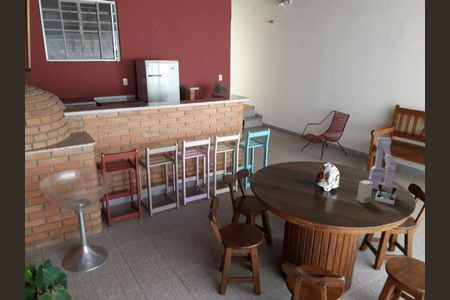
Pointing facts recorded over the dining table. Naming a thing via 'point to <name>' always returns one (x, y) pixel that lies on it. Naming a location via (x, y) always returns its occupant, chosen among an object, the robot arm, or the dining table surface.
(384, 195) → the ball
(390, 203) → the white square frame
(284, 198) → the dining table surface
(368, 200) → the skincare box
